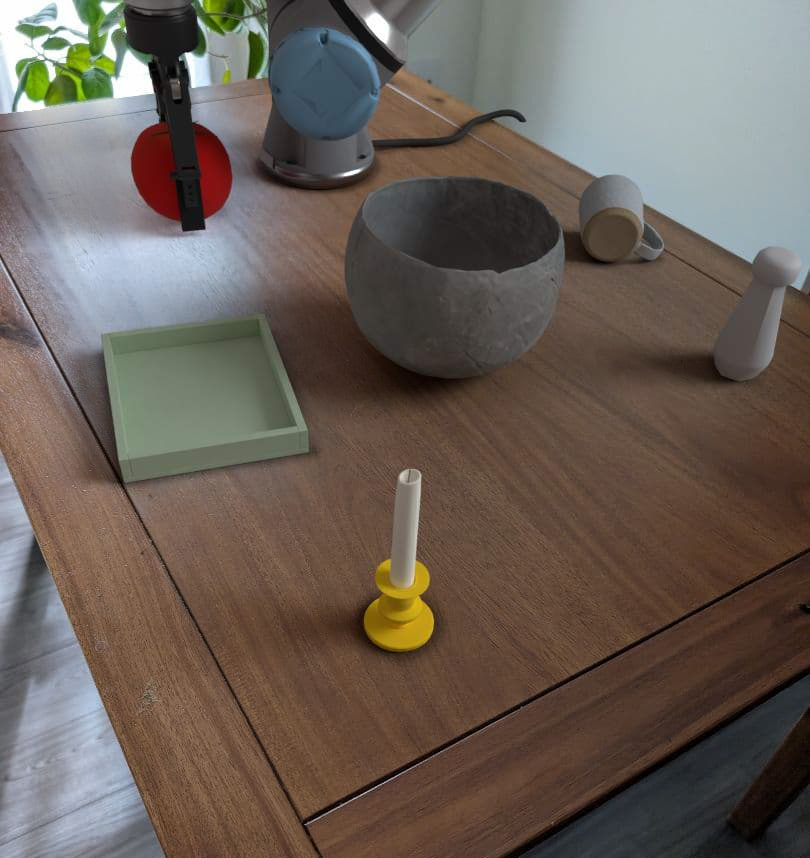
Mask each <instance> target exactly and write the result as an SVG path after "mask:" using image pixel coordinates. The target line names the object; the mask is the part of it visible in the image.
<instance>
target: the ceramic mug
mask: <svg viewBox="0 0 810 858" xmlns="http://www.w3.org/2000/svg"><path fill="white" fill-rule="evenodd" d="M578 218H579V230H580V233H579V234H580V238H581V242H582V245H583V247H584V249H585V250H586V252H587V253H588V254H589V255H590V256H591V257H592V258H593V259H596V260H598V261H602V262H606V263H609V262H610V263H611V262H612V263H614V262H618V261H622V260H624V259H626V258H628V257H629V256H631V255H632V254H635V255H636V256H638V257H640V258H642V259H644V260H647V261H654V260H656V259H657V258H659V256H660V255H661V253H663V251H664V248H665V244H664V240H663V239H662V237H661V235H660V234H659V233H658V232H657V230H655V229H654V228H653V227H652V226H651V225H650V224H649V223H647V221H645V220H644V198H643V195H642V191H641V190H640V187H639V186H638V185H637V184H636V182H634V181H633V180H632V179H630V178H629V177H627V176H625V175H620V174H606V175H602V176H600V177H598V178H596V179H595V180H593V181H592V182H590V183H589V184H588V185H587V186H586V187H585V189H584V190H583V192H582V194H581V197H580V198H579V203H578ZM642 238H643V239H644V240H645V241H646V242H647V243H648V244H649V245H650V246H651V247H650V246H648V245H647V244H645V243H643V242H642Z"/></svg>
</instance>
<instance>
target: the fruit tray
mask: <svg viewBox="0 0 810 858" xmlns="http://www.w3.org/2000/svg"><path fill="white" fill-rule="evenodd" d="M100 338H101V346H102V352H103V353H102V354H103V359H104V367H105V373H106V382H107V388H108V395H109V396H108V397H109V402H110V409H111V416H112V424H113V431H114V439H115V447H116V452H117V460H118V465H119V468H120V472H121V476H122V480H123V483H124V484H128V483H133V482H140V481H145V480H151V479H157V478H165V477H170V476H175V475H181V474H188V473H194V472H200V471H206V470H211V469H218V468H223V467H230V466H235V465H242V464H249V463H253V462H254V463H255V462H259V461H265V460H272V459H277V458H284V457H291V456H296V455H301V454H307V453H309V452H310V451H309V432H308V431H309V429H308V427H307V424H306V422H305V419H304V416H303V413H302V411H301V408H300V405H299V403H298V400H297V397H296V395H295V392H294V389H293V386H292V383H291V381H290V378H289V376H288V373H287V370H286V368H285V366H284V363H283V359H282V357H281V354H280V351H279V349H278V345H277V344H276V341H275V338H274V335H273V332H272V330H271V327H270V324H269V322H268V319H267V317H266V314H265V313H259V314H258V313H257V314H250V315H242V316H234V317H226V318H218V319H210V320H209V319H208V320H201V321H195V322H194V321H193V322H185V323H178V324H177V323H176V324H170V325H161V326H153V327H145V328H137V329H128V330H121V331H113V332H106V333H100Z"/></svg>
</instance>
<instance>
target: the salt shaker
mask: <svg viewBox="0 0 810 858" xmlns="http://www.w3.org/2000/svg"><path fill="white" fill-rule="evenodd" d="M802 267H803V261H802V260H801V257H800V256H799V254H797V253H796V252H794V251H793V250H790V249H789V248H787V247H782V246H767V247H765V248H762V249H760V250H759V251H758V252H757V254H756V256H754V259H753V260H752V264H751V266H750V271H751V275H752V279H751V280H750V282H749V284H748V286H747V287H746V288H745V290H744V292H743V294H742V296H741V297H740V299H739V300H738V302H737V305H735V308H734V309H733V311H732V313H731V315H730V316H729V318H728V319H727V321H726V323H725V324H724V326H723V328H722V330H721V331H720V333H719V334H718V336H717V338H716V340H715V341H714V344H713V358H714V359H713V361H714V366H715V367H716V370H717V371H718V373H719V374H720V376H722V377H725V378H727V379H730V380H733V381H736V382H743V381H748V380H754V379H755V378H756V377H757V376H758V375H759V374H761V372H763V371H764V370H765V369H766V368H767V367H768V366H769V365H770V363H771V361H772V359H773V358H774V353H775V347H776V342H777V337H778V332H779V326H780V322H781V321H780V320H781V316H782V311H783V310H782V309H783V305H784V299H785V294H786V289H787V286H790V285H793V284H794V283H795V282H796V281H797V279H798V277H799V275H800V273H801V271H802Z"/></svg>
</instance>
